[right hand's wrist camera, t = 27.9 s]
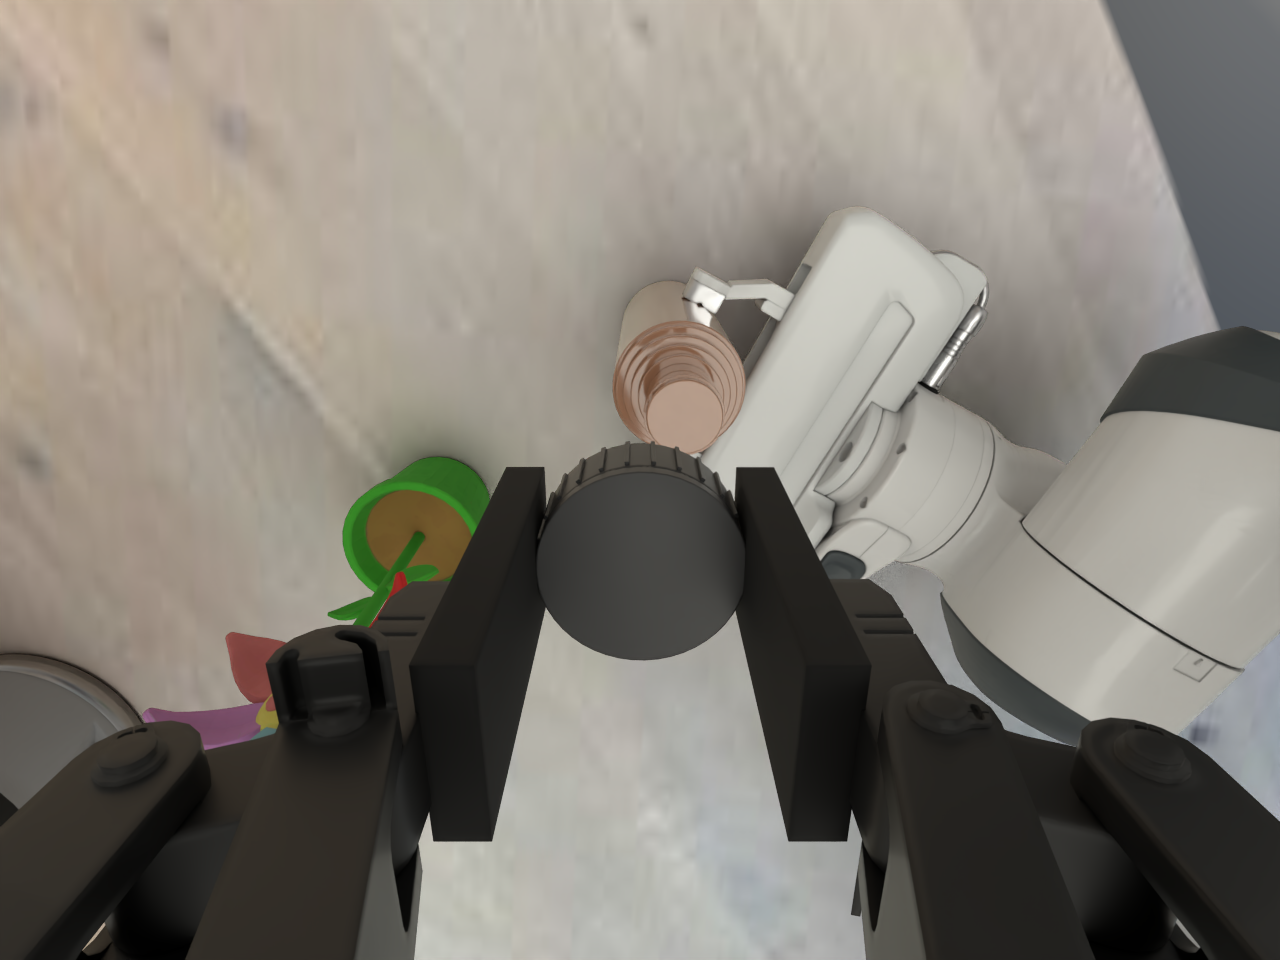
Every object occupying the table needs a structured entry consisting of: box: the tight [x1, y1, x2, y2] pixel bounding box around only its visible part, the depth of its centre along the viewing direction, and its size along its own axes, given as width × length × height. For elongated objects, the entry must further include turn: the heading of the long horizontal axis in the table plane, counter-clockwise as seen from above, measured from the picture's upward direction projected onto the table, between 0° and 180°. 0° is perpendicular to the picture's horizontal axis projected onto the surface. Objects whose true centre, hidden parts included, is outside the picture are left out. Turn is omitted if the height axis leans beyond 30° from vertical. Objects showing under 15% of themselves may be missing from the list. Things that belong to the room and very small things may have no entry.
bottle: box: [613, 281, 746, 455], centre depth 34 cm, size 5×5×18 cm
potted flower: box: [143, 457, 490, 750], centre depth 35 cm, size 9×8×25 cm
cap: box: [536, 441, 746, 660], centre depth 14 cm, size 4×4×2 cm
